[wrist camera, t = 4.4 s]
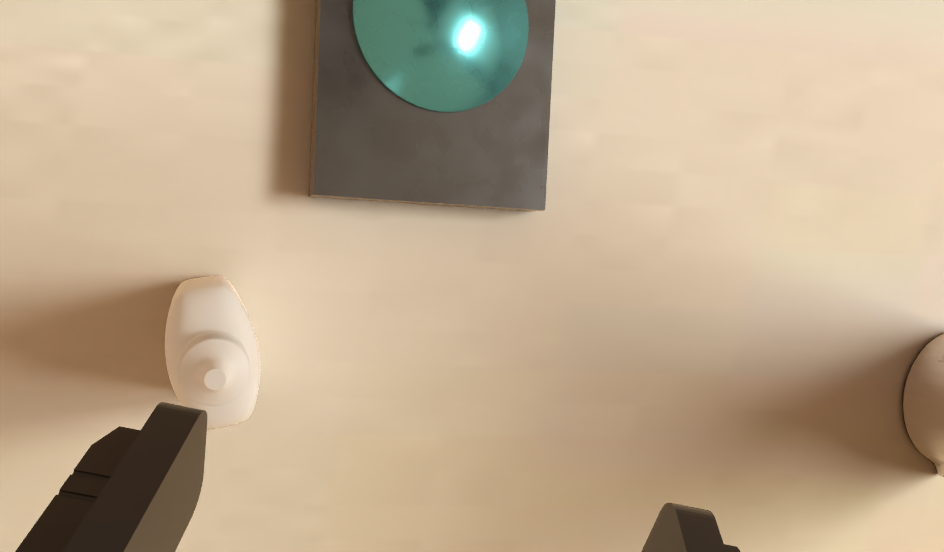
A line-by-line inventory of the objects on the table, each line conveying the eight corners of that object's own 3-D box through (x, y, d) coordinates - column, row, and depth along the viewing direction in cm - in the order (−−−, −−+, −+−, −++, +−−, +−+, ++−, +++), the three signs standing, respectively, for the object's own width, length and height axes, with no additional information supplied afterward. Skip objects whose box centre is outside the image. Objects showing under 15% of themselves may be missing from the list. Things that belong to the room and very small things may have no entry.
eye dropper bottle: (277, 294, 37) (309, 320, 26) (235, 403, 37) (249, 478, 25) (187, 263, 36) (178, 276, 24) (143, 377, 35) (114, 444, 24)
